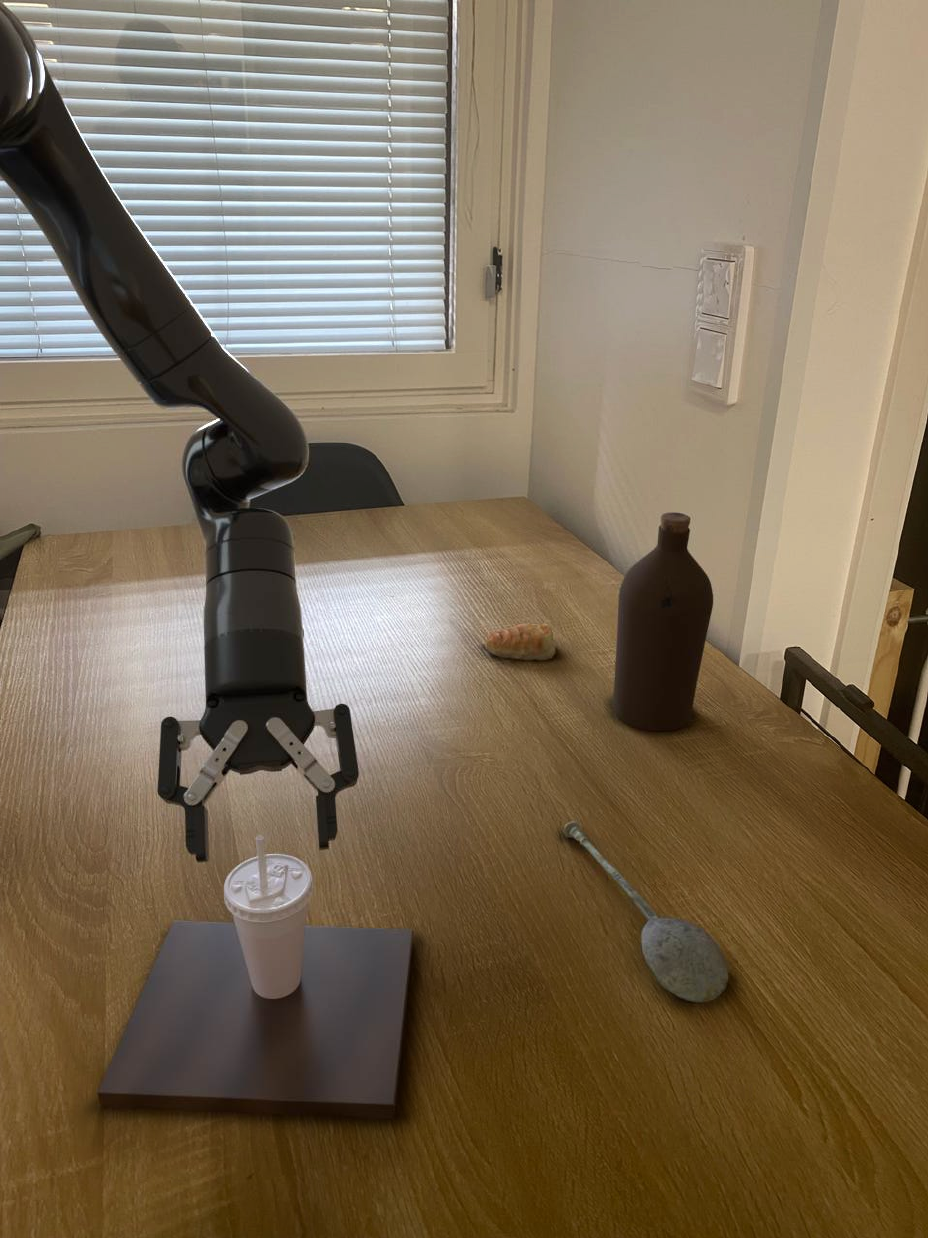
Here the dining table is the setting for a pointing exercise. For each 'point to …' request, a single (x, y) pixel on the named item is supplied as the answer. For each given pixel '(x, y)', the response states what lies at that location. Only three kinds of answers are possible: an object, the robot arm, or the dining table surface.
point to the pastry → (523, 642)
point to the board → (267, 1028)
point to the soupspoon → (671, 943)
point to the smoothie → (270, 918)
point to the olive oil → (661, 632)
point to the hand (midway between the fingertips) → (264, 855)
